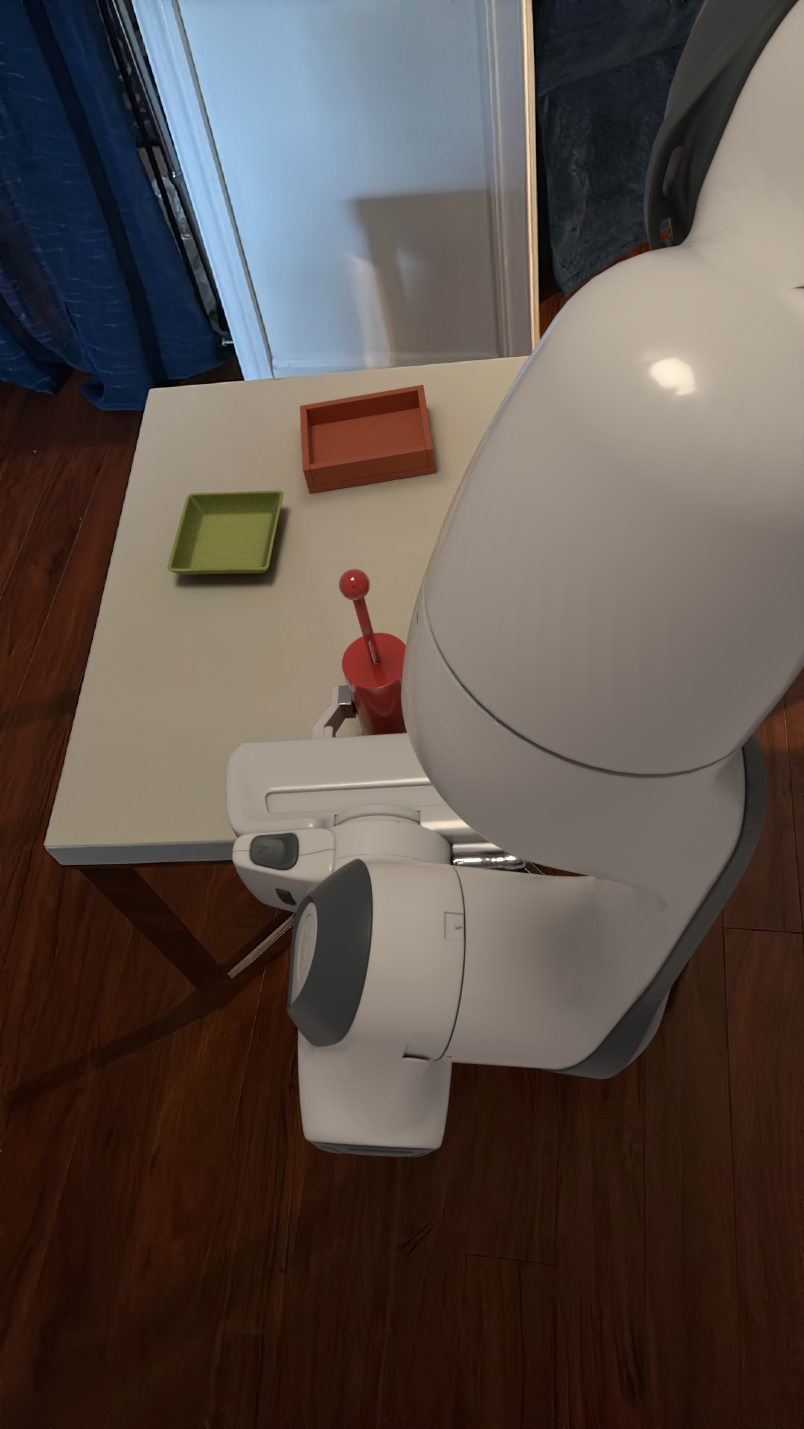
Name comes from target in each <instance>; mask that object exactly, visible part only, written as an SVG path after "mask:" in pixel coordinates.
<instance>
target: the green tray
mask: <svg viewBox="0 0 804 1429" xmlns="http://www.w3.org/2000/svg"><path fill="white" fill-rule="evenodd" d="M283 499H284V491H283V490H254V491H253V490H252V491H250V490H249V491H228V492H227V491H226V492H225V491H224V492H192V493H191V492H190V493H189V494H188V495H186V498H185V501H184V505H183V509H182V513H181V515H180V520H179V525H178V527H177V531H176V534H175V537H174V538H175V539H174V542H173V545H172V549H171V552H170V556H169V560H168V564H167V571H168V572H170V573H173V574H178V575H224V574H225V575H226V574H227V575H228V574H229V575H230V574H231V575H232V574H234V575H235V574H237V575H239V574H263V573H265V572H266V571H267V570H268V569H269V567H270V562H271V558H272V553H273V549H274V548H273V547H274V542H275V538H276V533H277V528H278V523H279V518H280V512H281V508H282V503H283Z"/></svg>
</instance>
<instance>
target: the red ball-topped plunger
mask: <svg viewBox="0 0 804 1429" xmlns="http://www.w3.org/2000/svg"><path fill="white" fill-rule="evenodd" d="M338 581H339V582H338V588H339V591H340V593H341V594H342V596H343V597H344V598H346V599H348V600H350V601H352V603H353V607H354V611H355V613H356V617H357V620H358V624H359V627H360V631H361V635H362V636H359V637H358V638H357V639H355V640H354V641H352V642H351V643H350V644H349V645H348V646H347V648H346V649H345V651H344V653H343V656H342V659H341V669H342V672H343V676H344V678H345V682H346V684H347V685H348V688H349V691H350V694H351V697H352V700H353V703H354V706H355V709H356V712H357V713H356V717H357V719H358V721H359V725H360V728H361V732H362V731H363V734H364V736H366V735H383V734H399V733H407V730H406V727H405V722H404V718H403V711H402V701H401V686H402V674H403V664H404V657H405V649H406V644H405V642H404V641H403V640H401V639H400V638H399V637H397V636H395V635H393V634H390V633H388V632H374V629H373V624H372V621H371V618H370V613H369V610H368V606H367V603H366V599H365V597H366V596H367V595H368V593H369V591H370V589H371V581H370V578H369V576H368V575H367V573H365V572H364V571H363V570H361V569H358V568H352V569H348V570H346V571H344V573H343V574H341V576H340V578H339V580H338Z"/></svg>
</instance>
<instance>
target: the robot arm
mask: <svg viewBox="0 0 804 1429" xmlns="http://www.w3.org/2000/svg"><path fill="white" fill-rule="evenodd" d="M645 175H646V176H645V181H644V191H643V218H644V219H643V220H644V227H645V233H646V237H647V240H648V243H649V247H650V250H649V251H646V252H643V253H641V254H637V255H635V256H632V257H630V258H627V259H624V260H622V261H619V262H617V263H616V264H614V265H612V266H611V267H609V268H607V269H606V270H604V271H602V272H601V273H599V274H597V275H595V276H594V277H593V278H591V279H590V280H588V282H587V283H586V284H584V285H583V286H582V287H581V288H579V289H578V290H577V292H575V293H574V295H572V296H571V297H570V298H569V299H568V300H567V301H566V303H565V304H563V306H562V308H561V309H560V310H559V311H558V312H557V314H556V315H555V317H554V318H553V319H552V321H551V322H550V324H549V325H548V327H547V329H546V330H545V332H544V333H543V335H542V336H541V337H540V339H539V340H538V342H537V344H536V346H535V347H534V349H533V350H532V352H531V353H530V355H529V356H528V358H527V359H526V361H525V362H524V364H523V365H522V367H521V369H520V370H519V372H518V374H517V375H516V377H515V379H514V381H513V383H512V384H511V386H510V388H509V389H508V391H507V393H506V395H505V396H504V398H503V400H502V401H501V403H500V405H499V407H498V408H497V410H496V412H495V414H494V415H493V417H492V419H491V420H490V422H489V425H488V426H487V428H486V430H485V432H484V434H483V435H482V437H481V440H480V442H479V444H478V446H477V448H476V449H475V452H474V453H473V455H472V457H471V459H470V461H469V463H468V465H467V467H466V469H465V471H464V473H463V476H462V478H461V480H460V482H459V484H458V486H457V488H456V492H455V494H454V496H453V497H452V501H451V503H450V505H449V507H448V509H447V512H446V514H445V517H444V519H443V522H442V525H441V527H440V529H439V533H438V536H437V537H436V540H435V544H434V546H433V548H432V551H431V554H430V557H429V560H428V563H427V566H426V569H425V572H424V575H423V577H422V580H421V582H420V586H419V589H418V592H417V595H416V599H415V601H414V602H415V603H414V606H413V610H412V614H411V619H410V623H409V627H408V633H407V638H406V644H405V645H406V649H405V657H404V664H403V674H402V686H401V701H402V711H403V718H404V722H405V727H406V730H407V733H399V734H383V735H366V736H362V735H352V736H337V735H336V734H337V733H338V731H339V729H340V728H341V727H342V725H343V723H344V721H345V720H346V719H347V720H348V719H357V712H356V709H355V706H354V703H353V700H352V697H351V694H350V691H349V688H348V685H346V684H345V685H332V686H331V692H330V705H328V706H327V707H326V709H325V710H324V711H323V713H322V714H321V715H320V717H319V718H318V719H317V720H316V722H315V723H314V724H313V725H312V729H311V730H312V731H311V738H300V739H287V740H286V739H284V740H267V741H251V742H250V741H247V742H242V743H240V744H239V745H237V747H236V748H235V749H234V750H233V751H232V752H231V753H230V754H229V756H228V758H227V763H226V769H225V770H226V771H225V812H226V817H227V821H228V824H229V826H230V828H231V830H232V831H233V833H234V835H235V837H236V839H235V841H234V843H233V846H232V853H231V859H232V862H233V863H232V864H233V866H234V869H235V870H236V873H237V874H238V876H239V878H240V880H241V882H242V883H243V884H244V886H245V887H246V889H248V891H249V892H250V893H251V894H252V895H253V896H254V897H255V899H256V900H258V901H259V902H260V903H261V904H264V905H266V906H270V907H272V908H277V909H280V910H283V911H284V910H285V911H287V912H292V913H295V915H294V919H293V924H292V931H291V941H290V942H291V943H290V960H289V961H290V962H289V975H288V989H287V990H288V991H287V999H286V1009H285V1010H286V1011H285V1012H286V1013H287V1014H288V1016H289V1018H290V1019H291V1020H292V1022H293V1024H294V1025H295V1027H296V1028H297V1072H298V1073H297V1074H298V1089H299V1090H298V1091H299V1092H298V1093H299V1105H300V1106H299V1107H300V1116H301V1126H302V1131H303V1136H304V1138H305V1139H306V1141H307V1142H309V1143H311V1145H314V1146H315V1147H316V1148H317V1149H319V1150H321V1151H324V1152H328V1153H333V1154H342V1155H343V1154H350V1155H359V1156H375V1157H377V1156H378V1157H395V1158H403V1157H408V1158H416V1157H417V1158H418V1157H423V1156H426V1155H429V1154H430V1153H432V1152H434V1151H436V1150H437V1149H440V1147H442V1143H443V1139H444V1135H445V1130H446V1123H447V1116H448V1108H449V1100H450V1090H451V1081H452V1080H451V1079H452V1070H453V1069H452V1068H453V1063H456V1064H457V1063H459V1064H469V1065H471V1064H473V1065H487V1066H498V1067H499V1066H501V1067H514V1068H529V1069H540V1070H543V1071H545V1072H550V1073H556V1074H562V1075H569V1076H575V1077H583V1078H589V1079H596V1080H607V1079H610V1078H613V1077H615V1076H616V1075H618V1074H619V1073H620V1072H621V1071H623V1070H624V1069H625V1068H626V1067H628V1066H629V1065H630V1064H632V1063H633V1062H634V1061H635V1060H636V1059H637V1058H638V1057H639V1056H640V1055H641V1054H642V1053H643V1052H644V1051H645V1049H646V1048H647V1047H648V1046H649V1044H650V1043H651V1041H652V1040H653V1038H654V1036H655V1035H656V1033H657V1031H658V1029H659V1027H660V1024H661V1022H662V1019H663V1016H664V1013H665V1012H664V1011H665V1009H666V1006H667V1003H668V1000H669V999H668V998H669V995H670V992H671V988H672V987H673V985H674V983H675V982H676V980H677V979H678V977H679V975H680V974H681V973H682V971H683V969H684V968H685V966H686V965H687V963H688V962H689V960H690V959H691V958H692V956H693V954H694V953H695V951H696V950H697V948H698V947H699V945H700V944H701V942H702V941H703V939H704V937H705V936H706V934H707V933H708V932H709V930H710V929H711V927H712V926H713V924H714V922H715V921H716V919H717V918H718V916H719V915H720V913H721V911H723V908H725V906H726V905H727V902H728V901H729V899H730V898H731V896H732V894H733V893H734V891H735V889H736V888H737V886H738V885H739V883H740V882H741V879H742V878H743V876H744V874H745V872H746V871H747V868H748V867H749V865H750V862H751V860H752V858H753V856H754V853H755V851H756V849H757V846H758V843H759V840H760V838H761V835H762V831H763V827H764V823H765V819H766V812H767V802H768V777H767V768H766V762H765V758H764V752H763V749H762V746H761V742H760V738H759V737H758V735H757V733H756V730H757V729H758V728H759V727H760V726H761V725H762V723H763V722H764V721H765V720H766V718H767V717H768V716H769V715H770V714H771V712H772V711H773V710H774V708H776V706H777V704H778V703H779V702H780V701H781V700H782V698H783V697H784V696H785V694H787V692H788V690H789V689H790V687H791V686H792V685H793V683H794V682H795V680H796V679H797V677H798V676H799V675H800V673H801V672H802V671H803V669H804V0H704V2H703V4H702V6H701V8H700V10H699V12H698V14H697V16H696V19H695V21H694V23H693V25H692V28H691V31H690V32H689V36H688V38H687V41H686V43H685V46H684V48H683V50H682V53H681V56H680V58H679V61H678V63H677V66H676V69H675V72H674V75H673V77H672V80H671V84H670V87H669V91H668V96H667V101H666V107H665V110H664V116H663V121H662V122H661V125H660V126H659V128H658V130H657V133H656V135H655V138H654V141H653V145H652V148H651V152H650V155H649V160H648V165H647V169H646V174H645ZM665 220H667V221H668V225H669V226H668V227H669V229H670V232H669V236H668V237H667V239H665V240H662V236H661V225H662V223H663V222H664V221H665ZM531 863H534V864H537V865H540V866H544V867H549V868H551V869H555V870H561V871H566V872H570V873H574V874H579V875H580V876H570V875H569V876H566V875H565V876H564V875H548V874H539V873H538V874H537V873H527V872H518V871H520V870H524V869H526V868H527V864H531ZM581 875H583V876H581Z"/></svg>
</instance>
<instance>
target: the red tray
mask: <svg viewBox="0 0 804 1429" xmlns="http://www.w3.org/2000/svg"><path fill="white" fill-rule="evenodd" d="M299 418H300V440H301V458H302V459H301V460H302V472H303V475H304V479H305V482H306V486H307V489H308V493H309V494H314V493H320V492H327V491H332V490H338V489H344V488H351V487H357V486H362V485H369V484H375V483H380V482H381V483H382V482H386V481H394V480H398V479H404V478H405V479H406V478H411V477H417V476H423V475H429V474H434V473H435V474H436V473H437V467H436V460H435V454H434V446H433V440H432V433H431V427H430V426H431V425H430V420H429V412H428V407H427V399H426V392H425V386H424V384H418V385H413V386H408V387H400V388H396V389H391V390H390V389H389V390H384V391H383V390H382V391H378V392H372V393H366V394H361V395H354V396H349V397H342V398H338V399H337V398H336V399H332V400H325V401H319V402H314V403H308V404H303V405H302V404H301V405H299Z"/></svg>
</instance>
